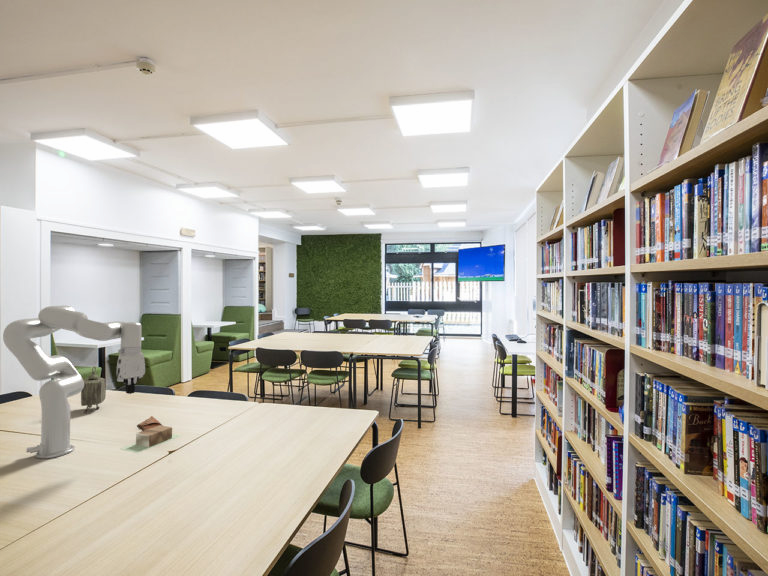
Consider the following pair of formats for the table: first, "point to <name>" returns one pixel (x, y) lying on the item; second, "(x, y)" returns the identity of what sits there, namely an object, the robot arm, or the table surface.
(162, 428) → the walnut block
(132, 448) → the felt mat
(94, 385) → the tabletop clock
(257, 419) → the table surface
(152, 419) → the sunglasses case
